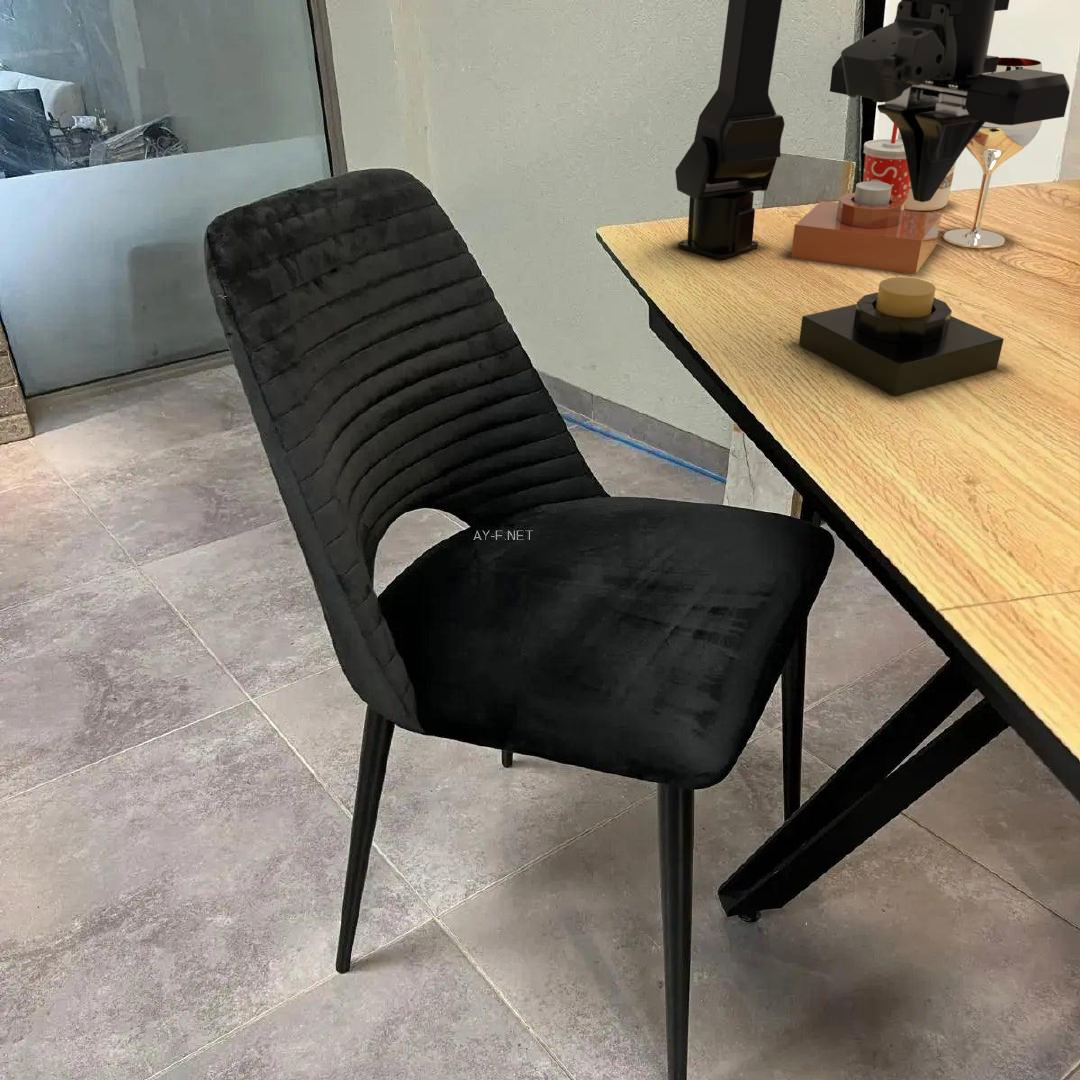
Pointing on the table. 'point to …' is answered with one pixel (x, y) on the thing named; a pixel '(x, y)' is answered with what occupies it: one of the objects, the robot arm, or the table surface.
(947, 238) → the wineglass
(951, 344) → the black push button base
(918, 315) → the yellow cylinder
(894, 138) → the beverage cup
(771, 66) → the robot arm
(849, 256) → the button housing
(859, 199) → the white cylinder
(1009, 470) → the table surface
